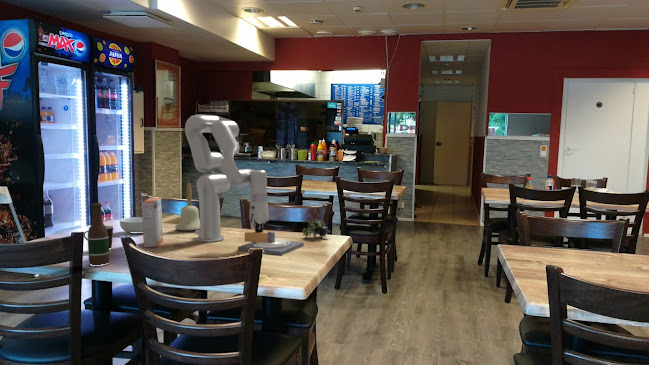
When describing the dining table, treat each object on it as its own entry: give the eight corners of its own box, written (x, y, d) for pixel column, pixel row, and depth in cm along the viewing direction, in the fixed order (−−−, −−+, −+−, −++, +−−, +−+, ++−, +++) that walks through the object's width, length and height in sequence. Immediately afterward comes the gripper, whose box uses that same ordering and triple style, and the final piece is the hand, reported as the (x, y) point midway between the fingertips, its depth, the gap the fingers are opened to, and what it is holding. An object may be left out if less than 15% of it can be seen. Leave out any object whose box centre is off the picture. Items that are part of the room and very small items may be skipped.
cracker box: (150, 241, 236) (148, 197, 234) (163, 241, 237) (162, 197, 235) (142, 248, 222) (140, 201, 220) (156, 247, 223) (155, 201, 221)
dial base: (238, 250, 218) (237, 244, 218) (262, 241, 236) (262, 236, 236) (281, 255, 209) (281, 249, 209) (303, 245, 227) (303, 240, 227)
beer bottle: (92, 262, 198) (90, 202, 195) (112, 261, 198) (110, 202, 196) (85, 267, 190) (82, 205, 188) (106, 266, 191) (103, 204, 188)
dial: (240, 246, 217) (240, 234, 216) (249, 240, 231) (249, 228, 230) (283, 247, 215) (283, 235, 214) (289, 241, 229) (289, 229, 228)
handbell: (168, 231, 261) (167, 183, 259) (189, 226, 275) (188, 181, 272) (191, 233, 254) (189, 185, 252) (211, 228, 268) (210, 182, 265)
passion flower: (320, 248, 247) (335, 229, 245) (312, 248, 237) (327, 228, 235) (304, 233, 251) (318, 214, 249) (295, 233, 241) (310, 213, 239)
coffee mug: (118, 248, 221) (117, 226, 220) (104, 253, 213) (103, 230, 212) (97, 246, 225) (96, 225, 224) (82, 251, 217) (81, 228, 216)
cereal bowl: (147, 236, 249) (147, 222, 248) (114, 236, 249) (114, 222, 249) (159, 229, 266) (158, 216, 265) (128, 229, 266) (127, 216, 265)
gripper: (257, 199, 216) (257, 241, 218) (274, 196, 229) (274, 235, 231) (242, 199, 219) (243, 240, 221) (260, 195, 232) (260, 234, 234)
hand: (259, 237), depth 226 cm, fingers closed
